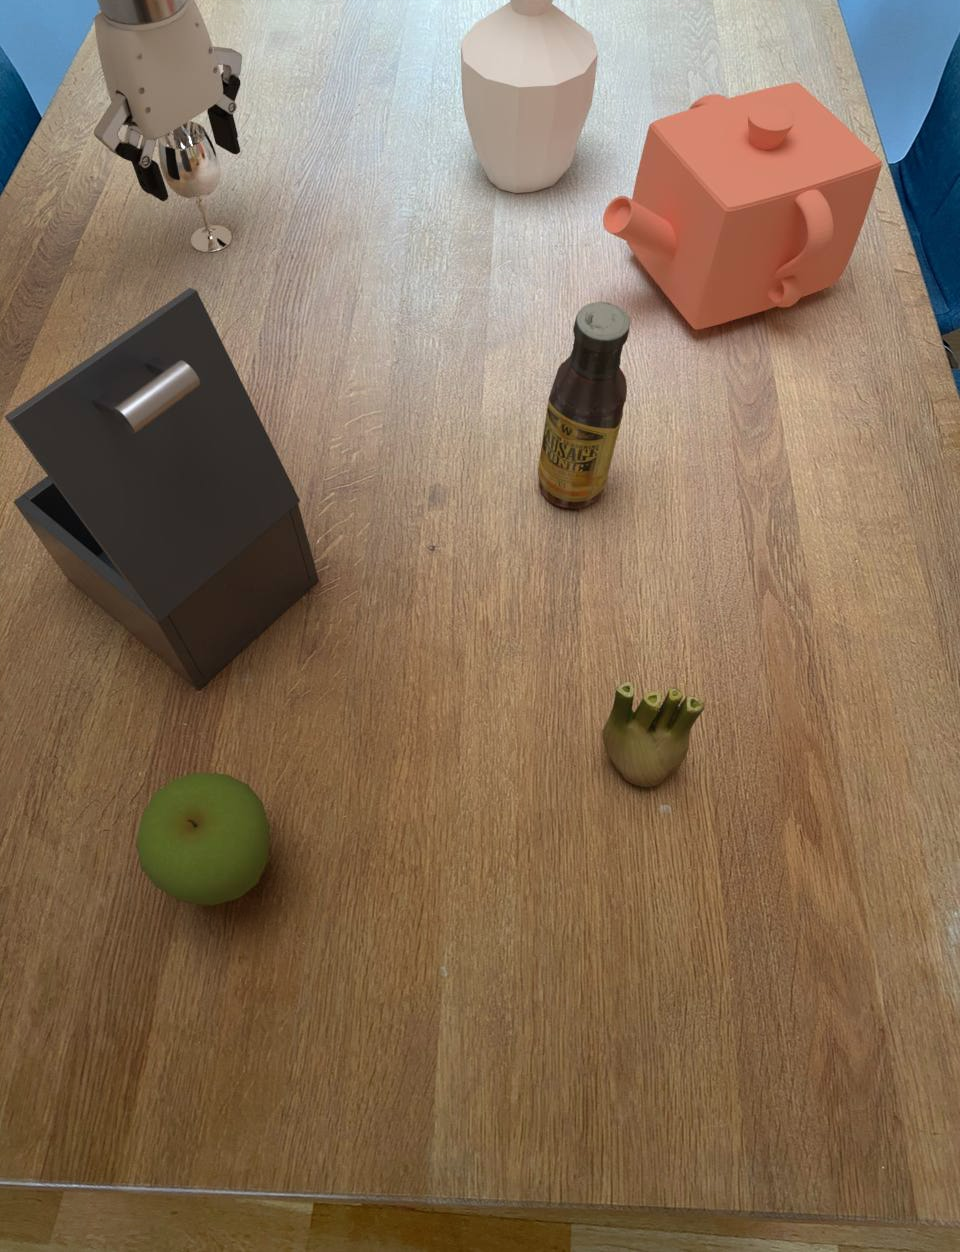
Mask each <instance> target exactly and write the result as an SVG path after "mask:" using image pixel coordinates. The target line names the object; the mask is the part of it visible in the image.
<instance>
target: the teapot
mask: <svg viewBox="0 0 960 1252" xmlns="http://www.w3.org/2000/svg"><path fill="white" fill-rule="evenodd" d="M882 166H883V162H882V159H880V158H879V157H878V156H877V155H876V154H875V153H874V152H873V151H872V150H871V149H870V148H869V147H868V146H867V145H866V144H865V143H864V142H863V141H862V140H861V139H860V138H859V137H858V136H857V135H856V134H854V132H853V131H851V129H849V127H847V125H845V124H844V123H843V122H842V121H841V119H839V118H838V117H837V116H836V115H835V114H834V113H833V112H832V111H831V110H830V109H829V108H827V107H826V106H825V105H824V104H823V103H822V102H820V101H819V100H818V99H817V98H816V97H815V96H814V95H813V94H812V93H810V91H808V90H807V89H806V88H805V87H804V86H803V85H801V83H800V82H798V81H797V82H796V81H795V82H788V83H783V84H781V85H779V84H778V85H775V86H771V87H767V88H764V89H759V90H755V91H750V92H746V93H743V94H739V95H735V96H732V97H728V98H727V97H726V96H725V95H721V94H717V93H716V94H714V93H713V94H707V95H704V96H702V97H699V98H698V99H696V100H695V101H693V103H692V104H691V105H690V107H689V108H688V109H686V110H683V111H679V112H676V113H674V114H671V115H668V116H664V117H662V118H659V119H656V120H654V121H652V122H651V123H650V124H649V126H648V129H647V133H646V136H645V141H644V144H643V149H642V152H641V157H640V161H639V164H638V168H637V172H636V178H635V181H634V186H633V191H632V197H631V198H630V197H628V196H626V195H619V196H616V197H615V198H613V199H612V200H611V201H610V202H609V203H608V205H607V206H606V207H605V210H604V213H603V217H602V225H603V228H604V230H605V231H606V232H607V233H609V234H611V235H613V236H614V237H617V238H620V239H621V240H623V241H626V244H627V246H628V248H629V249H630V251H631V252H632V253H633V254H634V256H635V257H636V259H637V260H638V261H639V262H640V264H641V265H642V267H643V268H644V269H645V270H646V272H647V273H648V274H649V276H650V277H651V278H652V279H653V281H654V282H655V283H656V284H657V285H658V287H659V288H660V289H661V290H662V292H663V294H665V296H666V297H667V298H668V299H669V301H670V302H671V303H672V304H673V306H674V307H675V308H676V310H678V312H679V313H680V314H681V316H682V317H683V318H684V319H685V320H686V321H687V323H688V324H689V325H690V326H691V327H692V329H693V330H703V329H707V328H710V327H714V326H719V325H720V326H721V325H723V324H726V323H728V322H731V321H735V320H738V319H741V318H744V317H748V316H752V315H754V314H757V313H761V312H764V311H767V310H771V309H773V308H776V307H779V308H789V307H792V306H793V305H795V304H797V302H798V301H799V300H800V299H801V298H804V297H806V296H807V297H808V296H809V295H812V294H815V293H817V292H820V291H822V290H825V289H828V288H830V287H832V286H834V285H835V284H837V283H838V282H839V281H840V279H841V278H842V276H843V273H844V271H845V270H846V268H847V266H848V264H849V262H850V259H851V258H852V254H853V253H854V251H855V247H856V244H857V242H858V239H859V236H860V234H861V231H862V228H863V225H864V222H865V220H866V217H867V214H868V211H869V207H870V204H871V202H872V199H873V196H874V192H875V189H876V186H877V183H878V180H879V177H880V174H881V170H882V168H883V167H882Z"/></svg>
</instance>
